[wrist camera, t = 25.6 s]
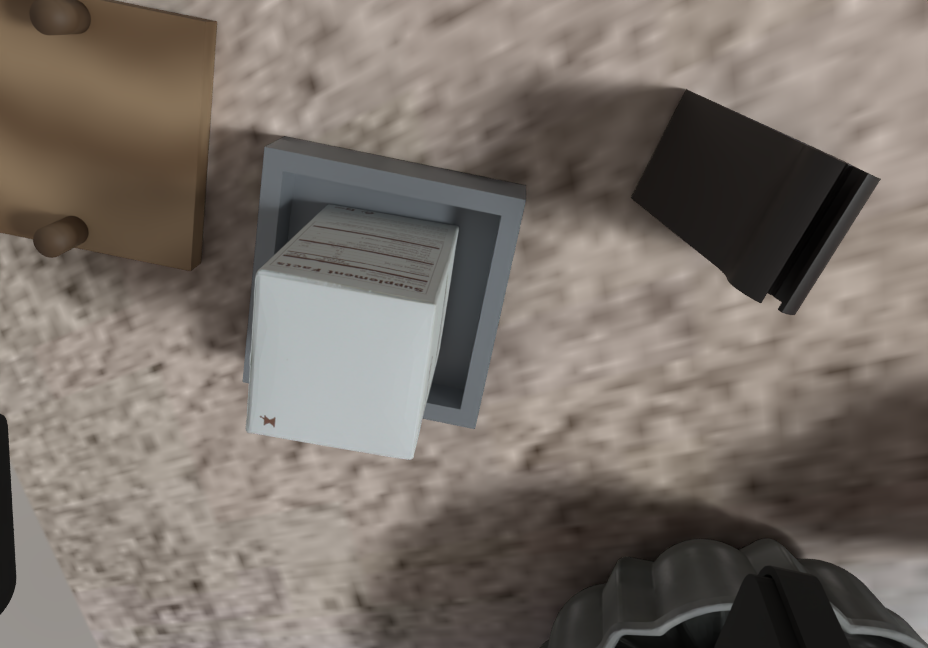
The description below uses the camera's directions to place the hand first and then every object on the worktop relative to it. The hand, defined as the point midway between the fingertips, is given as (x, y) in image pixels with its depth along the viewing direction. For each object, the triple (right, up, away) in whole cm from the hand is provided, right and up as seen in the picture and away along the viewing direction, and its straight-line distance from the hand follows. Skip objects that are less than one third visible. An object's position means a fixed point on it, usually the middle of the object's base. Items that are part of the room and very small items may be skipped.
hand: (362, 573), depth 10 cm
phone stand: (+15, +11, +31) cm, 37 cm away
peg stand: (-19, +14, +32) cm, 40 cm away
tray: (-3, +6, +34) cm, 35 cm away
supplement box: (-3, +6, +33) cm, 34 cm away
